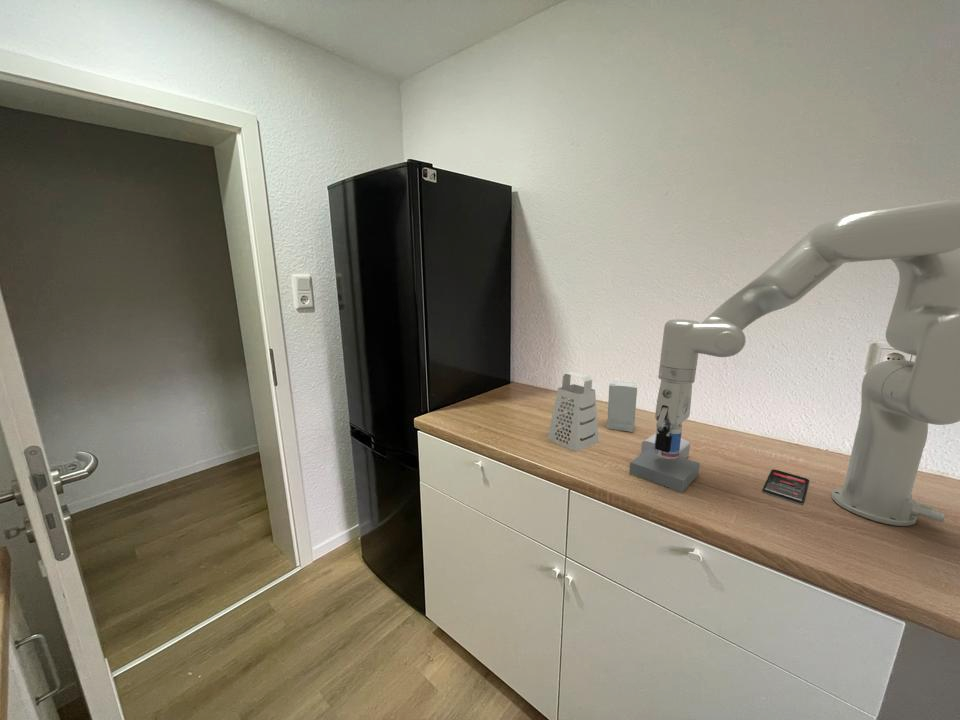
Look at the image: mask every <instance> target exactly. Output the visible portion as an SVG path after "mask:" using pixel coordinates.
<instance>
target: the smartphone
mask: <svg viewBox="0 0 960 720" xmlns="http://www.w3.org/2000/svg"><path fill="white" fill-rule="evenodd" d="M809 484H810V479H808V478H807V477H803V476H800V475H795V474H792V473H788V472H785V471H782V470H779V469H774V468H773V469H771V470H770V471H769V475H768V476H767V479H766V481H765V483H764V485H763V488H762V489H761V493H763V494H764V495H768V496H771V497H773V498H777V499H781V500H784V501H786V502H790V503H792V504H795V505H799V506H804V504H805V500H806V496H807V491H808V487H809Z"/></svg>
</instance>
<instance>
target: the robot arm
mask: <svg viewBox="0 0 960 720" xmlns="http://www.w3.org/2000/svg"><path fill="white" fill-rule="evenodd" d="M883 260H891V261H892V262H893V264H894V265H895V266H896V269H897V271H898V276H899V277H898V278H899V279H898V280H899V281H898V286H897V292H896V295H895V296H896V297H895V299H894V303H893V306H892V309H891V313H890V316H889V320H888V322H887V323H888V324H887V326H886V331H885V340H886V343H887V344H888V345H889V346H890V347H892V348H893V349H894V350H897V351H898V352H902V353H904V354H907V355H911V356H915V359H914V361H912V360H906V359H890V360H885V361H880V362H878V363H877V364H874V366H872V367H870V368H869V370H867V372H866V373H865V374H864V377H863V379H862V382H861V391H860V393H861V395H860V396H861V398H860V399H861V404H860V405H861V407H860V414H859V419H858V423H857V429H856V433H855V436H854V441H853V444H852V448H851V449H852V450H851V453H850V458H849V462H848V466H847V470H846V475H845V479H844V484H843V486H842V487H841V486H840V487H836V488H833V490H831V491H832V492H831V498H832V499H833V501H834V502H835V503H836V504H837V505H839V506H840V507H841V508H843V509H845V510H847V511H848V512H851V513H853V514H855V515H857V516H859V517H862V518H865V519H868V520H871V521H874V522H878V523H881V524H886V525H891V526H898V527H899V526H900V527H907V526H912V525H915V524H916V522H917V520H918V516H920V517H923V518H927V519H928V520H931V521H934V522H939V523H944V521H945V515H946V513H945V512H942V511H939V510H935V509H934V506H933V505H929V504H925V503H921V502H917V501H916V500H915V499H913V496H912V495H913V494H912V491H913V488H914V484H915V482H916V481H915V480H916V477H917V474H918V470H919V467H920V462H921V459H922V456H923V453H924V448H925V446H926V443H927V439H928V432H929V424H930V425H937V426H945V425H946V426H947V425H952V424H955V423H958V422H960V199H959V200H957V199H945V200H944V199H943V200H939V201H932V202H925V203H920V204H919V203H918V204H913V205H911V204H910V205H906V206H898V207H892V208H884V209H876V210H870V211H869V210H868V211H862V212H854V213H850V214H846V215H842V216H839V217H835V218H833V219H832V218H831V219H829V220H826V221H824V222H822V223H819V224H818V225H817V226H815V227H814V228H813V229H811V230H810V231H809V232H808V233H807V234H805V236H803V237H802V238H801V239H800V240H799V241H798V242H797V243H795V244H794V245H793V246H791V248H790V249H788V251H786V252H785V253H784V254H783V255H782V256H780V258H778V259H777V260H776V261H775V262H774V263H773V264H772V265H770V266H769V267H768V268H767V269H765V271H764V272H762V273H761V274H760V275H759V276H757V277H756V278H755V279H753V280H752V281H750V282H749V283H748V284H747V285H745V286H744V287H743V288H741V289H740V290H739V291H737V292H736V293H735V294H733V295H731V296H730V297H729V298H728V299H727V300H726V301H724V302H723V303H721V304H720V306H718V307H717V308H716V309H714V311H713V312H711V314H710V315H708V316H707V317H706V318H705V319H704V320H703V321H702V322H701V323H700V322H699V321H696V320H694V319H693V320H691V319H680V318H679V319H676V318H675V319H669V320H667V321H666V322H665V324H664V328H663V335H662V342H661V343H662V344H661V350H660V351H661V352H660V361H659V368H658V369H659V370H658V374H657V375H658V377H657V378H658V379H659V380H661V381H660V385H659V389H658V395H657V399H656V407H655V417H654V419H655V420H656V429H657V436H656V444H655V448H656V449H657V450H661V451H664V452H667V453H669V452H670V448H671V440H672V436H670V435H671V431H672V427H673V424H674V426H677V425H679V426H680V427H681V428H682V426H683V423H684V422H686V420H687V419H689V417H690V415H691V414H690V413H691V406H692V405H691V404H692V395H693V384H695V382H696V381H695V379H696V374H697V366H698V360H699V359H698V358H699V354H701V355H706V356H707V355H708V356H711V357H716V358H728V357H730V358H731V357H733V356H735V355H737V354H739V353H740V352H741V351H742V350H743V349H744V347H745V345H746V341H747V340H746V334H745V332H744V331H743V330H744V329H746V328H747V327H749V326H750V325H751V324H752V323H755V321H757V320H759V319H760V318H762V317H763V316H767V315H768V314H770V313H773V312H776V311H780V310H782V309H785V308H787V307H789V306H791V305H793V304H795V303H797V302H799V301H800V300H801V299H803V297H804V296H806V295H807V294H808V293H810V292H811V291H812V290H813V289H814V288H815V287H817V286H818V285H819V284H820V283H822V282H823V281H824V280H825V279H827V278H828V277H829V276H830V275H832V273H834V272H835V271H836V270H837V269H839V268H840V267H841V266H842V265H844V264H847V263H855V262H857V263H858V262H868V261H869V262H870V261H883ZM666 420H669V421H670V423H668V422H665V421H666ZM665 425H669V426H668V430H667V427H665Z"/></svg>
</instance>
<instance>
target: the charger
mask: <svg viewBox="0 0 960 720" xmlns="http://www.w3.org/2000/svg"><path fill="white" fill-rule="evenodd" d="M655 438H656V432H655V433H653V434H652V435H650V436H649V437H648V438H646V439H644V440H643V441H642V442H641V450H640V455H641V454H642V453H643V452H645V451H646V450H647V449H649V448H653V449H654V447H655ZM690 448H691V442H689V440H686V439H684V437H681V442H680V450H679V457H682V458H685V459H687V457H688V456H689V455H690Z"/></svg>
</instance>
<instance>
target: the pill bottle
mask: <svg viewBox="0 0 960 720" xmlns="http://www.w3.org/2000/svg"><path fill="white" fill-rule="evenodd" d="M665 422H668V423H670V421H669V420H666V421H665ZM668 426H669V425H665V427H667V430H668ZM655 430H656V431H655V433H656V436H657V428H656V429H655ZM682 432H683V429H682V427H680V426H679V425H677V426H674V424H673V427H672V431H671V435H670V436H672V440H671V448H670V452H669V453H667V452H664V451H661V450H657V449H656V448H655V447H654V452H655V454H656V455H658V456H659V457H662V458H666V459H676V458H678V456H679V450H680V442H681V438H682ZM655 444H656V438H655Z"/></svg>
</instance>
